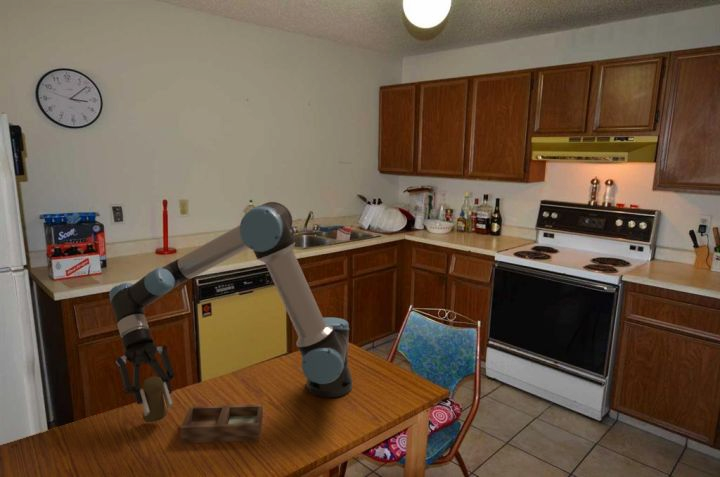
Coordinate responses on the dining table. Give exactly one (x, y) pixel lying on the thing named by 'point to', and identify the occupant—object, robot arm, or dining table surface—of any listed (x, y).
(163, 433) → the dining table surface
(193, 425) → the stand
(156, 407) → the cork
